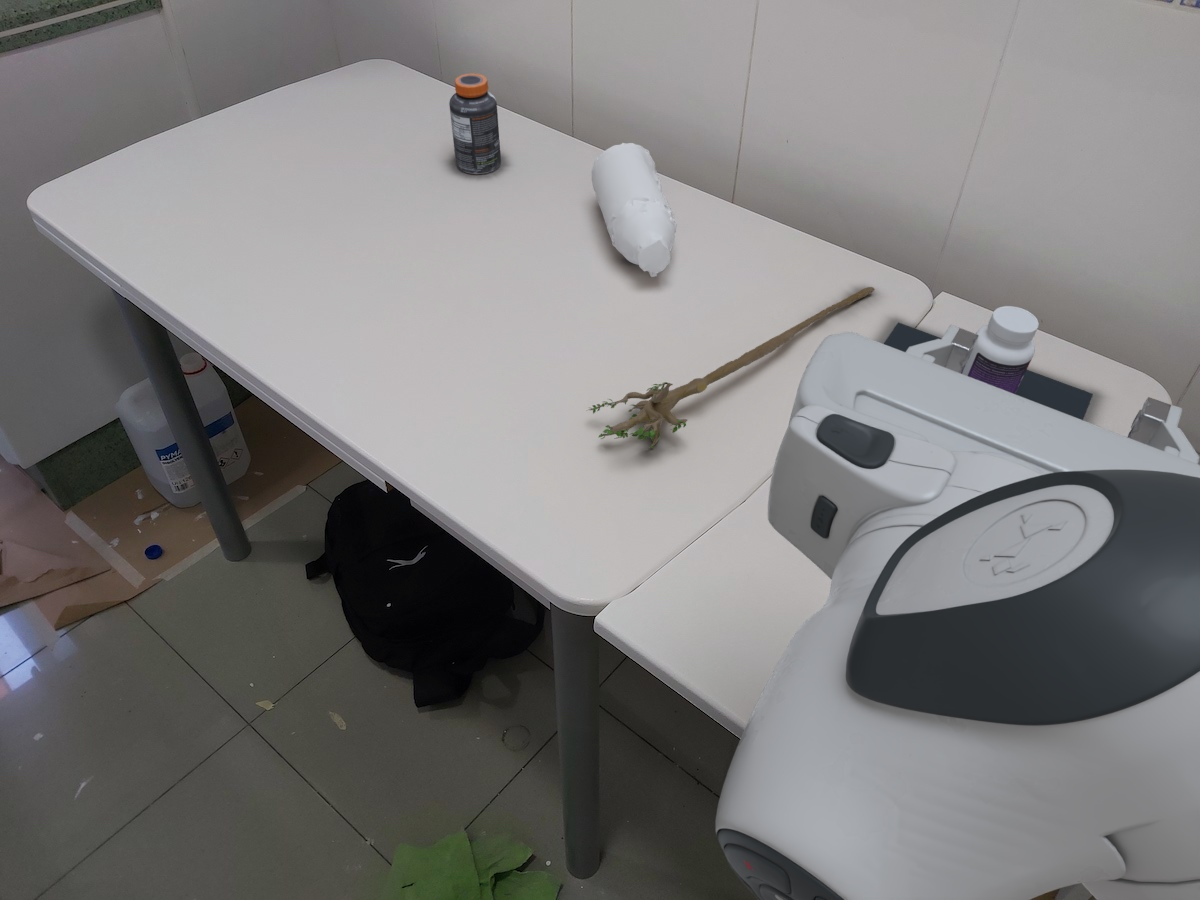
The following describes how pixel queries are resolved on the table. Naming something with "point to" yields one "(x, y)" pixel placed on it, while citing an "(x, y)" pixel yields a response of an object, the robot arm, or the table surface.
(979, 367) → the pill bottle
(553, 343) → the table surface
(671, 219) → the white bottle
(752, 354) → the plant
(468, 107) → the pill bottle
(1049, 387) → the mat
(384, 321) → the table surface
